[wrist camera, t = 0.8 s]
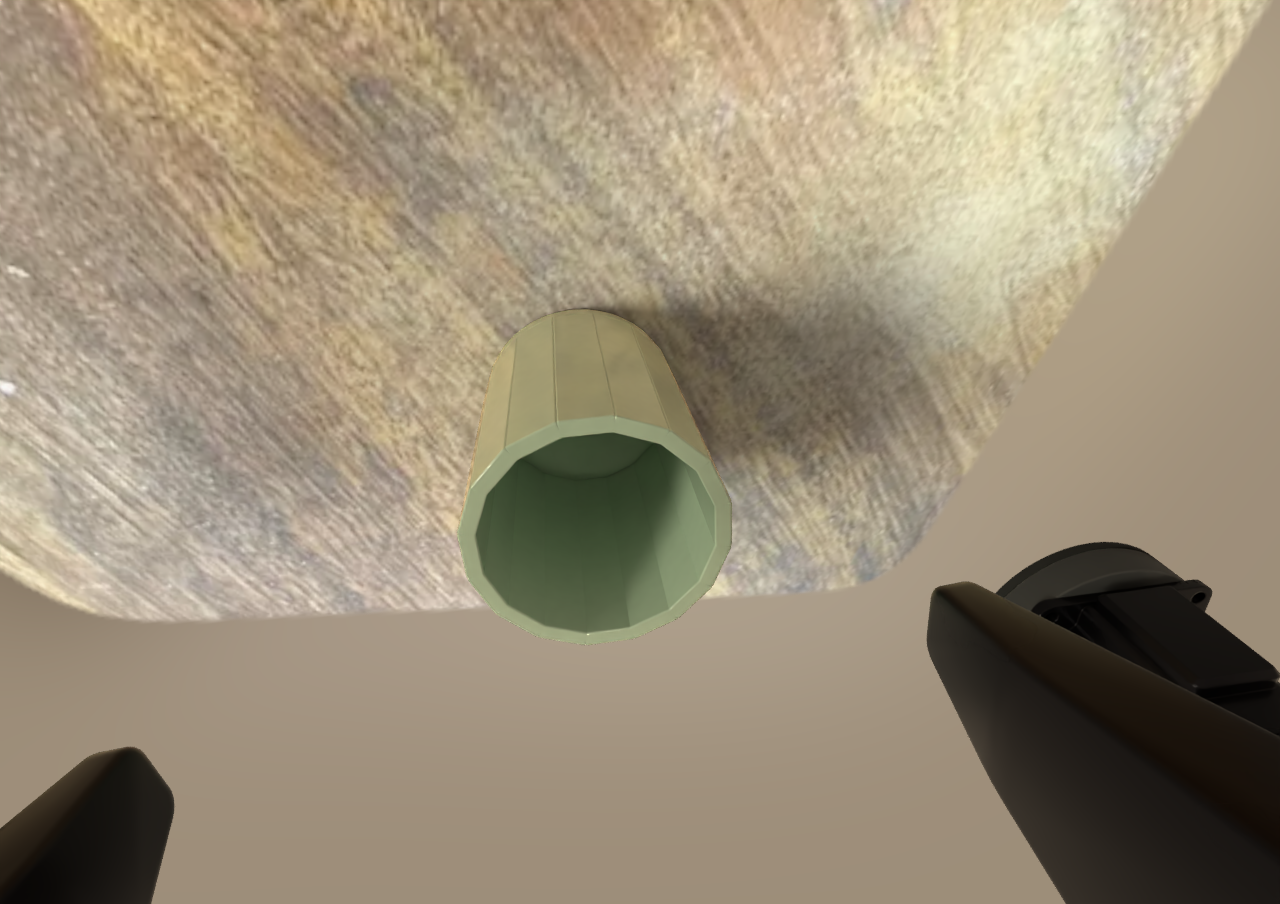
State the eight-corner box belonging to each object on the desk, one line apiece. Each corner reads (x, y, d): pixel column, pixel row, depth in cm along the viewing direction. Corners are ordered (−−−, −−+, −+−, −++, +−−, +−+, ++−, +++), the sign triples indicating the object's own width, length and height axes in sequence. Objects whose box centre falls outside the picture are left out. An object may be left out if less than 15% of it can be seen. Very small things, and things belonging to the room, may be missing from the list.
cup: (676, 470, 21) (731, 626, 15) (502, 489, 20) (484, 660, 14) (669, 299, 18) (732, 402, 12) (471, 318, 18) (433, 434, 12)
